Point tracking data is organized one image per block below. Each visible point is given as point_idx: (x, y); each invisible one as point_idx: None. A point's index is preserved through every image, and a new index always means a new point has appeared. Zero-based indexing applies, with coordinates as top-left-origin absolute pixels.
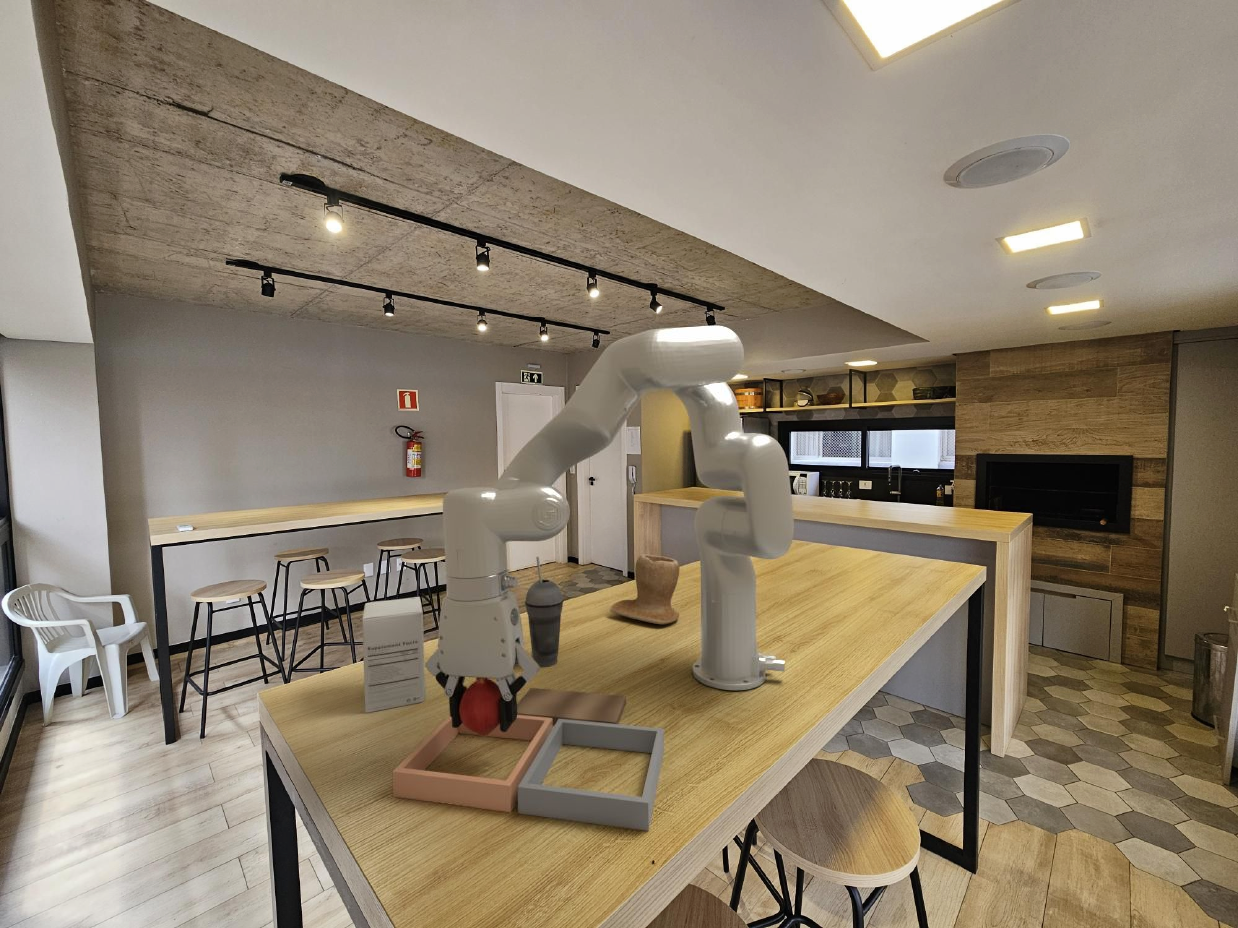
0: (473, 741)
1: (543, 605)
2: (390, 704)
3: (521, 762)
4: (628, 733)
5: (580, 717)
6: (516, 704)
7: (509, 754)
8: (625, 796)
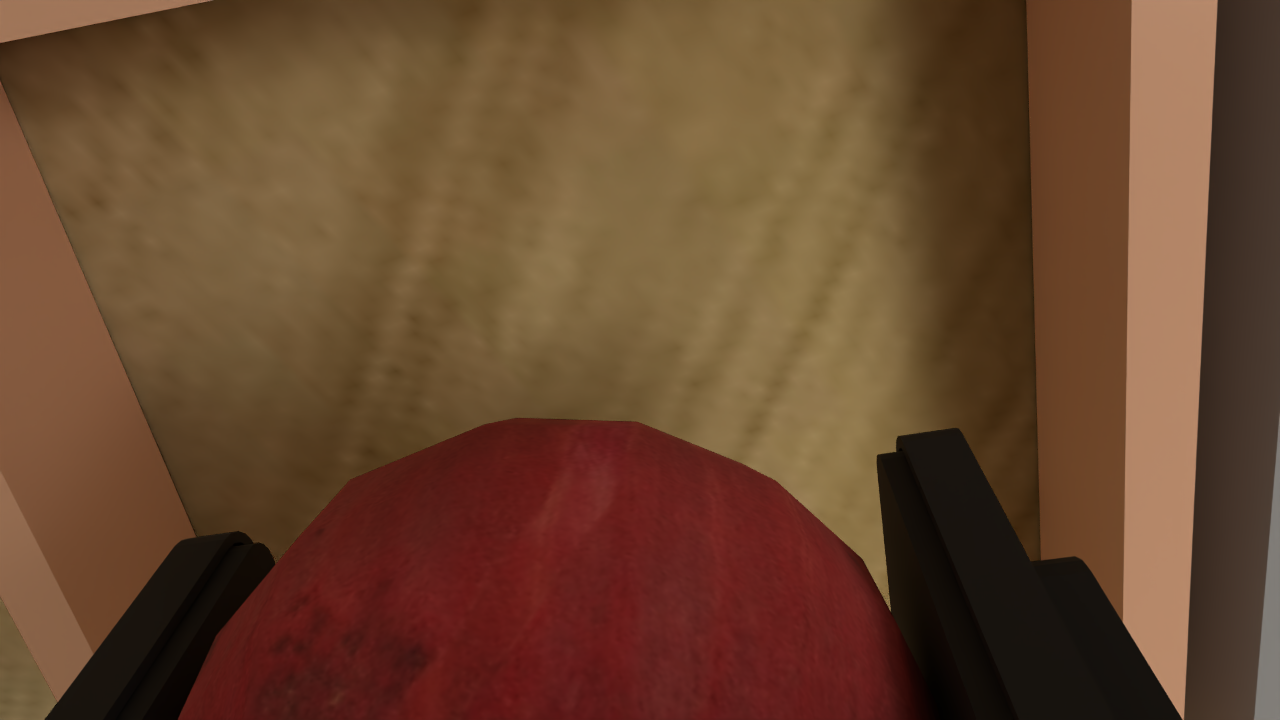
0: (258, 124)
1: None
2: None
3: (1153, 643)
4: None
5: None
6: (1149, 684)
7: (744, 188)
8: None
